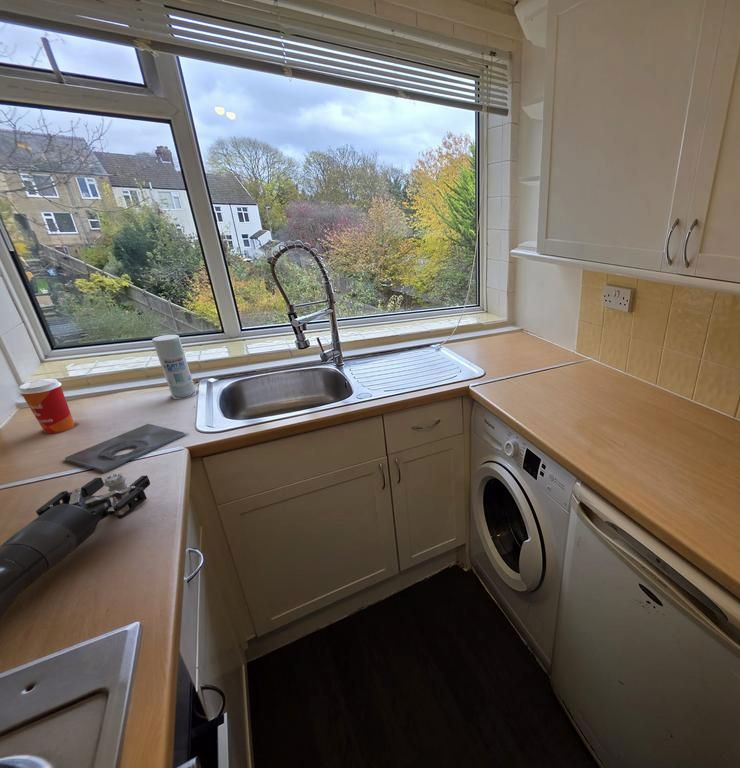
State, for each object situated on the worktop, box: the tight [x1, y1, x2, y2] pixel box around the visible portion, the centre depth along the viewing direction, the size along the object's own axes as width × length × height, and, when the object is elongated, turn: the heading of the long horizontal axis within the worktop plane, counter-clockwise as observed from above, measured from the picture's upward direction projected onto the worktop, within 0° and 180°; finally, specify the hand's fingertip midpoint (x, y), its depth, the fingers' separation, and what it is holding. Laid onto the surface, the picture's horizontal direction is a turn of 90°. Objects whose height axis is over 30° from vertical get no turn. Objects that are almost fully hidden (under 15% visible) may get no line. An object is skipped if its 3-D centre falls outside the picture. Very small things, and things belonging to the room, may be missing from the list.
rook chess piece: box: [103, 472, 139, 509], centre depth 81 cm, size 4×4×8 cm
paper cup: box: [18, 378, 75, 434], centre depth 108 cm, size 8×8×14 cm
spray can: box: [151, 334, 197, 400], centre depth 128 cm, size 6×6×20 cm
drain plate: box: [64, 423, 185, 474], centre depth 103 cm, size 18×14×2 cm
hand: (123, 480), depth 82 cm, fingers open, 8 cm apart
